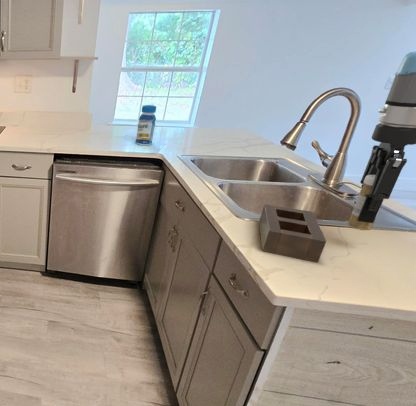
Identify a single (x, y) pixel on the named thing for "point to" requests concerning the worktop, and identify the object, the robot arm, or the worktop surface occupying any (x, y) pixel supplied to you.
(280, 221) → the spice stand
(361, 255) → the worktop surface
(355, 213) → the sprinkles bottle
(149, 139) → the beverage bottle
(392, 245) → the worktop surface
